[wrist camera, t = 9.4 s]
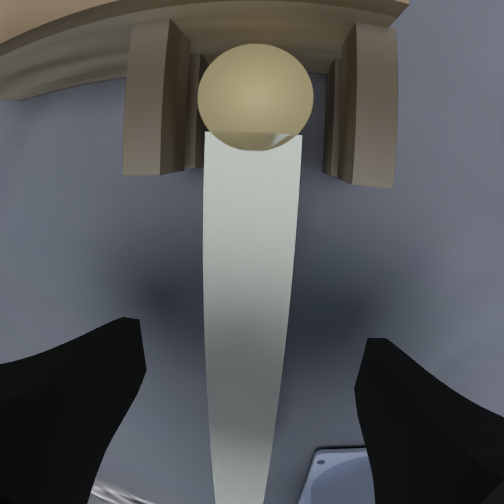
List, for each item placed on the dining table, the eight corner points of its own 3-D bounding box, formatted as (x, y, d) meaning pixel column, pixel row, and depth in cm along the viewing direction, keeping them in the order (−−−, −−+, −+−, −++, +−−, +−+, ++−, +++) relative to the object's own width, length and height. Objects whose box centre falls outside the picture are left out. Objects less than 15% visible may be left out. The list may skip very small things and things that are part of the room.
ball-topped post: (271, 430, 16) (265, 517, 11) (229, 426, 17) (212, 511, 11) (299, 95, 11) (314, 46, 6) (237, 93, 11) (200, 44, 6)
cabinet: (346, 173, 12) (418, 198, 5) (17, 174, 13) (-87, 198, 7) (343, -66, 8) (369, -160, 2) (43, -24, 10) (-34, -61, 3)
